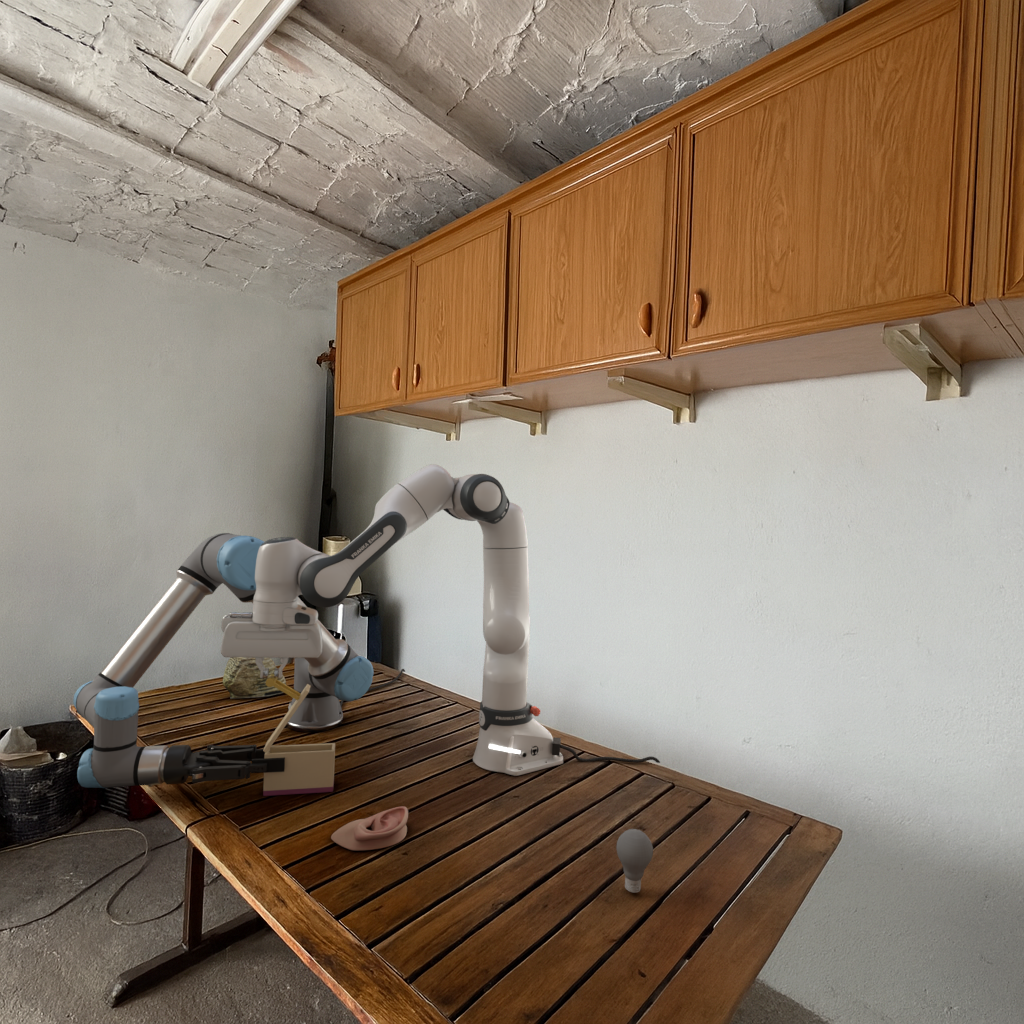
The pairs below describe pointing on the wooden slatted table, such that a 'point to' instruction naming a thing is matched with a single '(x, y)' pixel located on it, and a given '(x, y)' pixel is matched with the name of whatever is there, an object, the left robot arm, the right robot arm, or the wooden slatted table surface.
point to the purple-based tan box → (301, 769)
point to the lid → (299, 698)
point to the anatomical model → (374, 830)
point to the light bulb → (634, 857)
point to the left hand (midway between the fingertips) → (285, 759)
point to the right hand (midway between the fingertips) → (271, 677)
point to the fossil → (248, 678)
